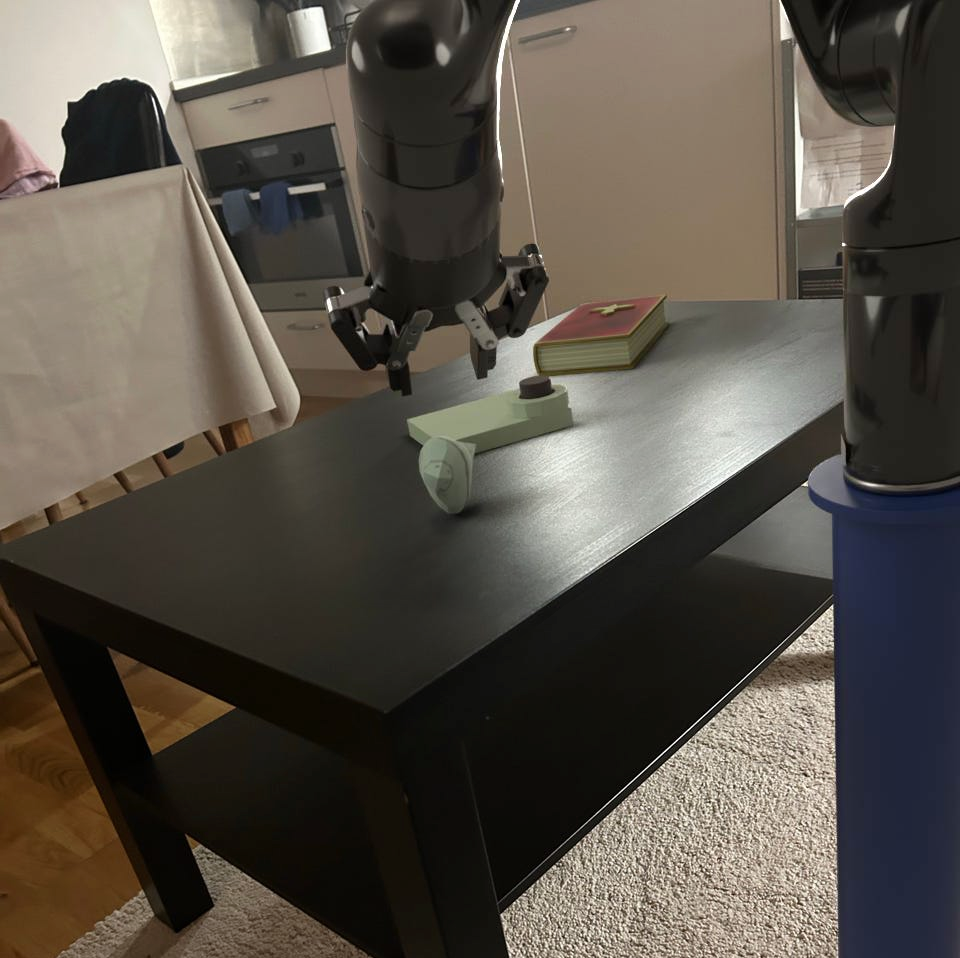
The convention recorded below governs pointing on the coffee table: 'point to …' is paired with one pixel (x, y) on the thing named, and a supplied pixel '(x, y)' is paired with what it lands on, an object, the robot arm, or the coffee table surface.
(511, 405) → the pale green flat block
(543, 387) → the button
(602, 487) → the coffee table surface
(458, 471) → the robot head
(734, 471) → the coffee table surface
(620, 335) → the hardcover book
